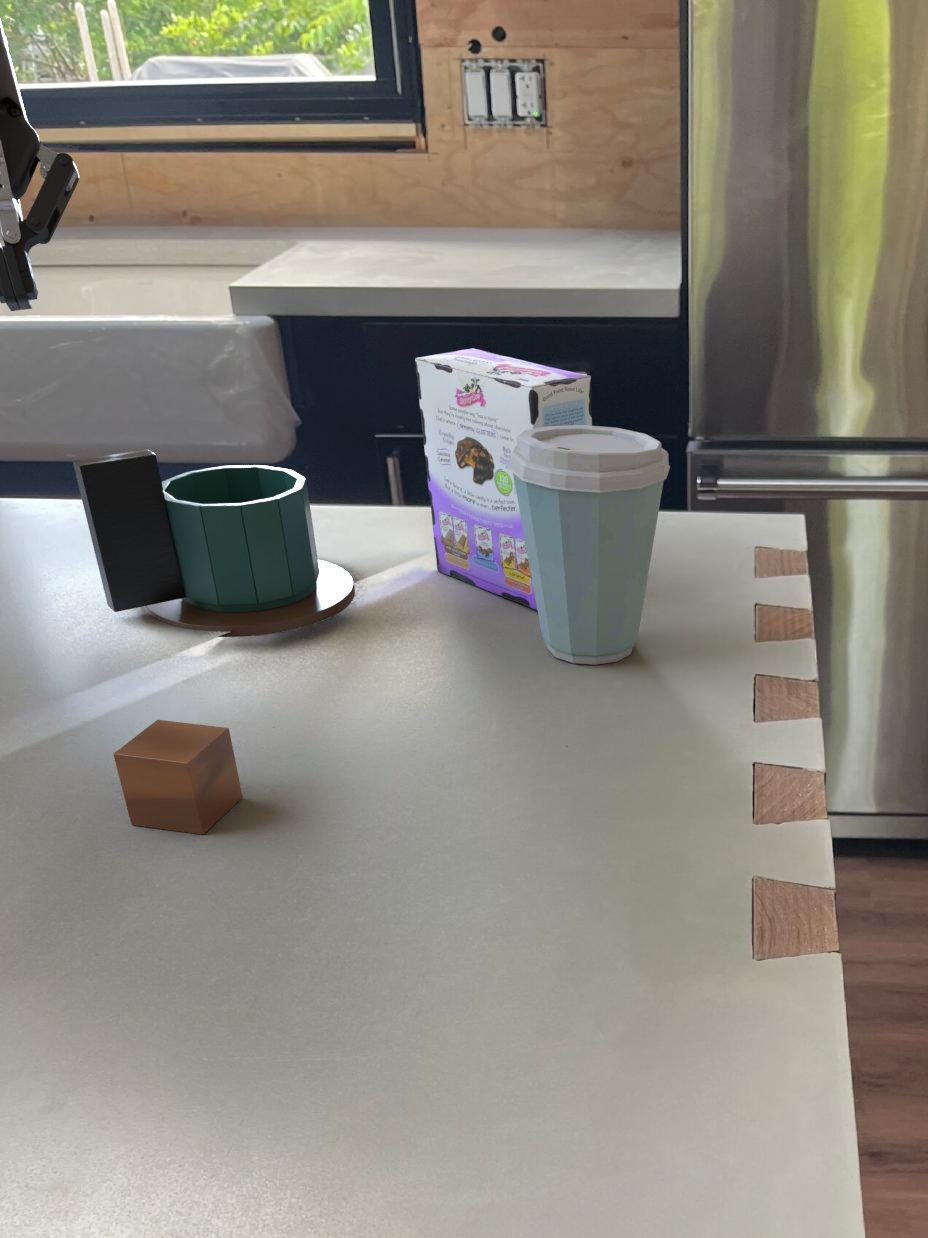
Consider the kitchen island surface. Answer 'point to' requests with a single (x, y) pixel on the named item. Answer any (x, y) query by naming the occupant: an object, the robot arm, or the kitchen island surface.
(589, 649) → the disposable coffee cup
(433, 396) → the candy box
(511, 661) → the kitchen island surface
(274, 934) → the kitchen island surface
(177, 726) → the block
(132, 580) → the cup with saucer
